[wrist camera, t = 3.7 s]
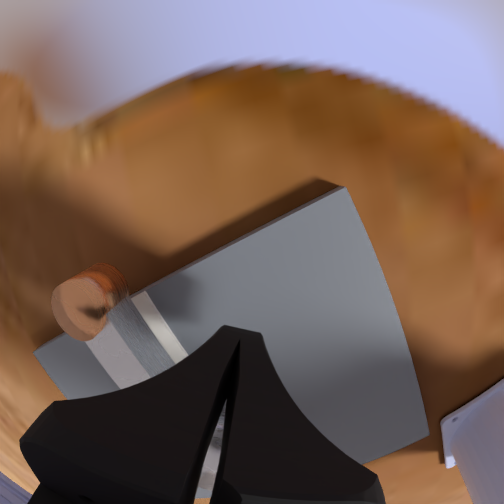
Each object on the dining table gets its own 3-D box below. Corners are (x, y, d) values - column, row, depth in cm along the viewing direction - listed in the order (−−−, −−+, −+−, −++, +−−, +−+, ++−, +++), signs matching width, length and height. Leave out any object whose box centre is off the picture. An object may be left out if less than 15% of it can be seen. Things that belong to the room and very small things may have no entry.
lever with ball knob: (286, 453, 13) (285, 489, 10) (206, 469, 14) (198, 501, 11) (136, 236, 10) (101, 254, 8) (60, 288, 11) (26, 309, 9)
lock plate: (340, 185, 12) (352, 188, 10) (425, 424, 15) (434, 445, 13) (41, 345, 16) (23, 359, 14) (176, 490, 18) (170, 507, 17)
